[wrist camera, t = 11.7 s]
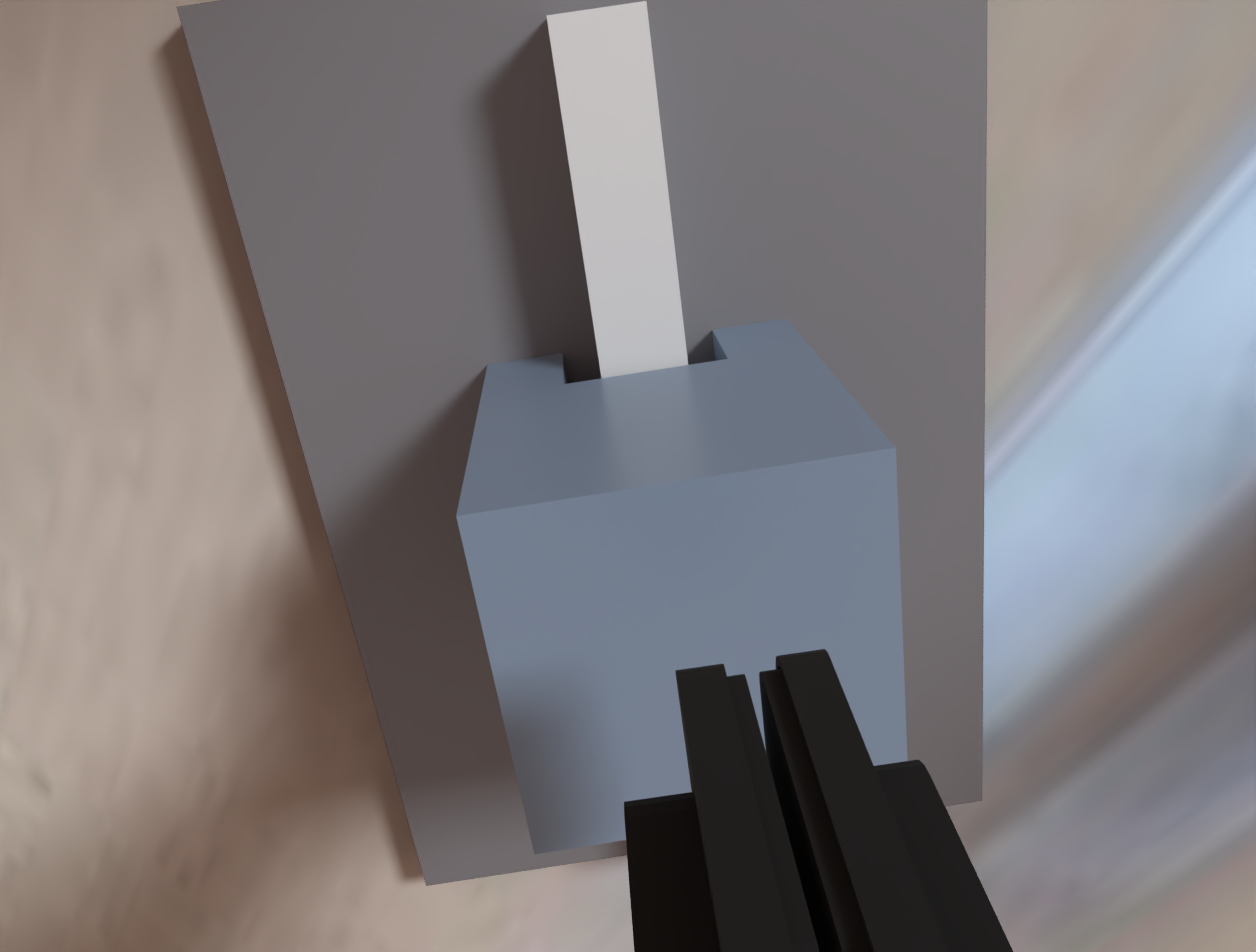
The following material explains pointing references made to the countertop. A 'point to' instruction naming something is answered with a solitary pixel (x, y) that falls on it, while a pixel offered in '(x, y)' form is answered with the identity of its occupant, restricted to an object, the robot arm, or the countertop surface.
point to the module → (673, 561)
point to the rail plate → (492, 280)
